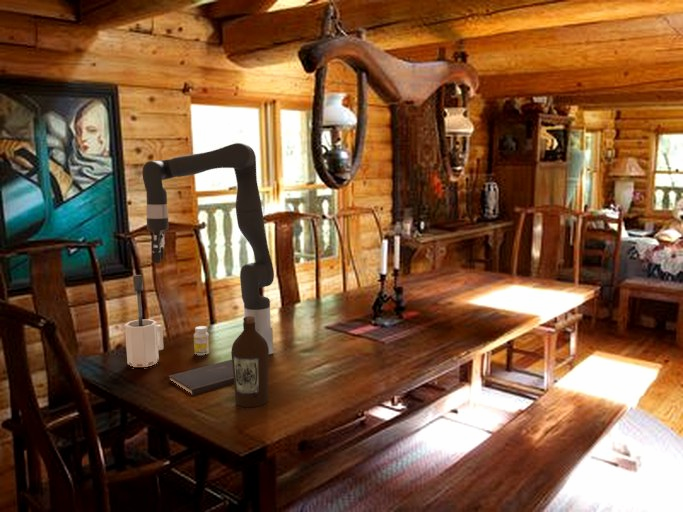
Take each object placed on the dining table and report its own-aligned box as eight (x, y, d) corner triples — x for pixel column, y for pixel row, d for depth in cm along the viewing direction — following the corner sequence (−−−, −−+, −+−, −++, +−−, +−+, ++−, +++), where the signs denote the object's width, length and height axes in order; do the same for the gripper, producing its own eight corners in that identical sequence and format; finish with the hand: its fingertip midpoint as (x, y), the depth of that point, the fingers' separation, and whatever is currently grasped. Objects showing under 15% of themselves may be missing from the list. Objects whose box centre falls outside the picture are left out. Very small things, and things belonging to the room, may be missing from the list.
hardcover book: (169, 382, 190) (168, 375, 189) (232, 365, 204) (232, 359, 204) (192, 397, 178) (192, 389, 177) (257, 378, 192) (257, 371, 192)
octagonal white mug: (170, 361, 207) (168, 321, 205) (138, 371, 198) (135, 329, 196) (154, 355, 214) (152, 316, 211) (122, 364, 205) (119, 323, 202)
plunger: (155, 329, 203) (152, 275, 200) (137, 333, 198) (133, 278, 195) (144, 325, 208) (141, 273, 205) (126, 330, 203) (122, 276, 200)
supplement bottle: (203, 356, 213) (202, 330, 211) (191, 354, 215) (190, 328, 213) (212, 351, 217) (211, 326, 216) (200, 350, 220) (199, 324, 218)
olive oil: (240, 393, 179) (237, 312, 175) (274, 394, 177) (272, 313, 173) (228, 407, 169) (224, 322, 165) (264, 409, 167) (261, 323, 163)
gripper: (165, 218, 209) (167, 264, 211) (170, 214, 223) (172, 257, 225) (143, 218, 208) (145, 264, 210) (149, 214, 222) (151, 257, 224)
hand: (159, 260), depth 218 cm, fingers open, 8 cm apart
